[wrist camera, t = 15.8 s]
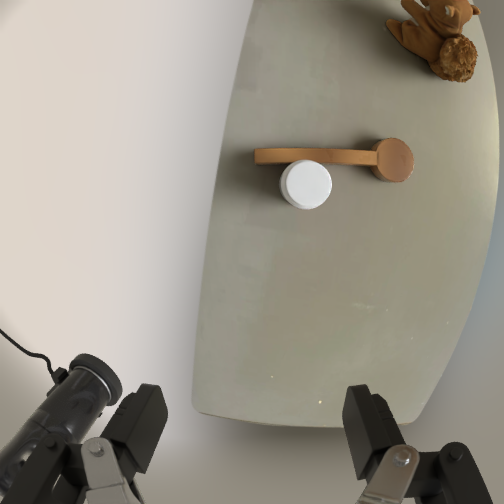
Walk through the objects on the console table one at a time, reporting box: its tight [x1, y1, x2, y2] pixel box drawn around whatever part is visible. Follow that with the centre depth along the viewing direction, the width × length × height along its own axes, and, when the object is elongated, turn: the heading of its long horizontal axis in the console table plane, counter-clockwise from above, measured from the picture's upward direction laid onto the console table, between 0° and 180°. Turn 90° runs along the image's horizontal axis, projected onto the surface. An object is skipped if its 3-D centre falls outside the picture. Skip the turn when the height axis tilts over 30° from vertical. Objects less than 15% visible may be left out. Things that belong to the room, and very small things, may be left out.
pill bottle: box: [279, 160, 332, 209], centre depth 26 cm, size 5×5×8 cm
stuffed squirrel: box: [386, 0, 480, 82], centre depth 17 cm, size 10×14×13 cm
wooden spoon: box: [254, 138, 414, 182], centre depth 28 cm, size 19×5×2 cm, turn 92°
